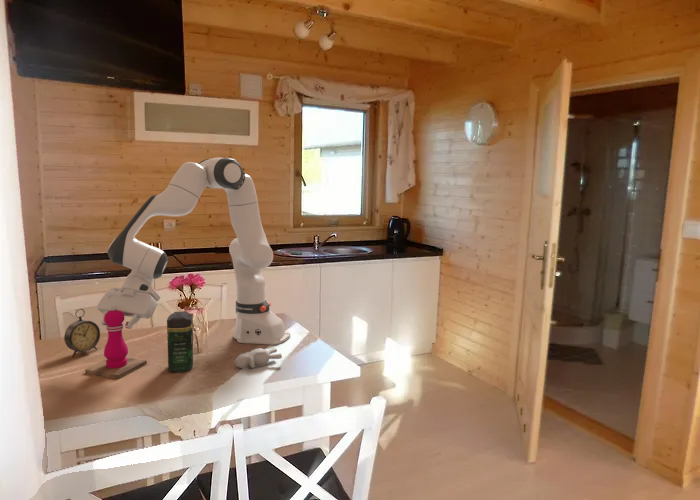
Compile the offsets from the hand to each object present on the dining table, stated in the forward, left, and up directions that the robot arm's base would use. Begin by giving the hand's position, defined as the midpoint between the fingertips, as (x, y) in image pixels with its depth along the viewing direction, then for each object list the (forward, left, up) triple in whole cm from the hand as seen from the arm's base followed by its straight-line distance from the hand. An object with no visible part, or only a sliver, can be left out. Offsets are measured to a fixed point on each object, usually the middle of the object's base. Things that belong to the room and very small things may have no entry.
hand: (115, 326), depth 165 cm
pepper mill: (0, 0, -13) cm, 13 cm away
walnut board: (0, 0, -14) cm, 14 cm away
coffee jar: (-19, -8, -14) cm, 25 cm away
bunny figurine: (-41, -19, -15) cm, 48 cm away
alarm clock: (+21, -7, -14) cm, 26 cm away
